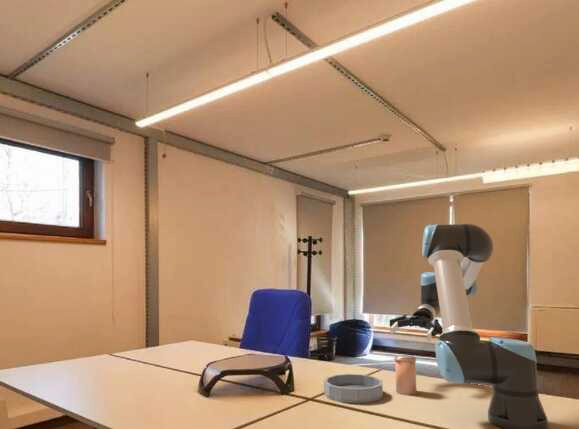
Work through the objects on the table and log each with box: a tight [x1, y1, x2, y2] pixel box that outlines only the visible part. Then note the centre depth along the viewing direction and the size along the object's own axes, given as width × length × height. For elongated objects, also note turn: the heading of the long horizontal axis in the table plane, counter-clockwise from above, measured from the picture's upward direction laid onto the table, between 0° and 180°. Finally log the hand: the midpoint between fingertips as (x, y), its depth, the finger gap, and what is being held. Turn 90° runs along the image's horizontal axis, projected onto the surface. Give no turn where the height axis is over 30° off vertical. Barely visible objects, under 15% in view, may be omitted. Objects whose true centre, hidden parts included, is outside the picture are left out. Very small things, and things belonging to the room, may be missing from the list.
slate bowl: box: [323, 373, 384, 404], centre depth 149 cm, size 20×20×4 cm
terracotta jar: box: [393, 354, 418, 396], centre depth 152 cm, size 8×8×12 cm
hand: (409, 334), depth 158 cm, fingers open, 13 cm apart
